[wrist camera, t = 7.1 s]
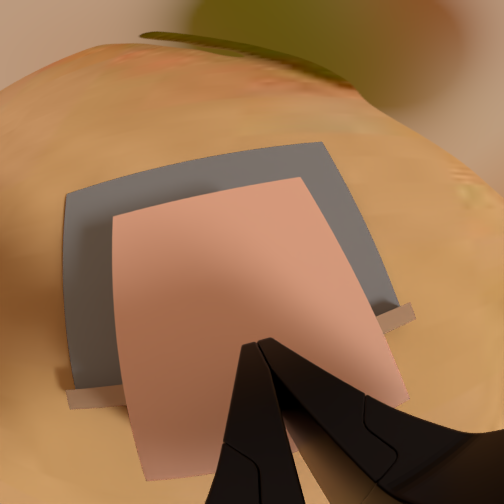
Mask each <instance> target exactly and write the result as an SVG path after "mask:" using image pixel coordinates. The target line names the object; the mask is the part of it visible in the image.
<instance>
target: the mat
mask: <svg viewBox="0 0 504 504" xmlns="http://www.w3.org/2000/svg"><path fill="white" fill-rule="evenodd" d="M296 177H301V179H302V180H303V182H304V183H305V185H306V187H307V188H308V190H309V192H310V193H311V195H312V197H313V199H314V200H315V202H316V204H317V205H318V207H319V209H320V211H321V212H322V214H323V216H324V218H325V219H326V221H327V223H328V225H329V226H330V228H331V230H332V232H333V234H334V235H335V237H336V239H337V241H338V243H339V245H340V247H341V248H342V250H343V252H344V254H345V256H346V258H347V260H348V262H349V264H350V265H351V267H352V269H353V271H354V273H355V275H356V277H357V279H358V281H359V283H360V285H361V287H362V289H363V291H364V293H365V295H366V297H367V300H368V302H369V304H370V306H371V308H372V310H373V312H374V314H375V316H376V319H377V321H378V323H379V325H380V327H381V330H382V332H383V334H385V333H387V332H390V331H392V330H394V329H396V328H398V327H400V326H402V325H405V324H407V323H409V322H411V321H413V320H415V319H416V317H415V314H414V311H413V308H412V306H411V303H410V302H409V303H407V304H404V305H402V306H400V305H399V302H398V300H397V297H396V294H395V292H394V289H393V287H392V284H391V281H390V279H389V276H388V274H387V271H386V269H385V267H384V264H383V262H382V259H381V257H380V255H379V252H378V250H377V248H376V246H375V243H374V241H373V239H372V237H371V235H370V232H369V230H368V228H367V226H366V224H365V222H364V220H363V217H362V215H361V213H360V211H359V209H358V207H357V205H356V203H355V201H354V199H353V197H352V195H351V193H350V191H349V189H348V188H347V186H346V184H345V182H344V180H343V178H342V176H341V174H340V173H339V171H338V169H337V167H336V165H335V164H334V162H333V160H332V158H331V156H330V155H329V153H328V151H327V150H326V148H325V146H324V144H323V143H322V142H314V143H303V144H294V145H285V146H277V147H269V148H261V149H254V150H248V151H241V152H235V153H229V154H223V155H217V156H212V157H207V158H201V159H196V160H191V161H187V162H182V163H177V164H173V165H168V166H164V167H160V168H155V169H151V170H147V171H143V172H139V173H136V174H132V175H128V176H124V177H121V178H117V179H114V180H110V181H107V182H103V183H100V184H97V185H93V186H90V187H87V188H84V189H81V190H78V191H75V192H72V193H69V194H67V197H66V207H65V219H64V236H63V293H64V310H65V322H66V332H67V341H68V348H69V355H70V362H71V368H72V373H73V379H74V384H75V389H74V390H66V395H67V400H68V404H69V408H70V409H89V408H102V407H114V406H123V405H127V404H126V399H125V394H124V388H123V382H122V376H121V369H120V362H119V355H118V347H117V338H116V327H115V316H114V301H113V278H112V229H113V216H117V215H120V214H124V213H128V212H132V211H136V210H140V209H143V208H147V207H151V206H156V205H160V204H164V203H168V202H172V201H177V200H181V199H185V198H190V197H194V196H199V195H204V194H208V193H213V192H218V191H223V190H228V189H233V188H238V187H244V186H249V185H255V184H260V183H266V182H272V181H278V180H284V179H290V178H296Z"/></svg>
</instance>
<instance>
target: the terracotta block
mask: <svg viewBox="0 0 504 504" xmlns="http://www.w3.org/2000/svg"><path fill="white" fill-rule="evenodd" d="M112 278H113V301H114V316H115V327H116V338H117V347H118V355H119V362H120V369H121V376H122V382H123V388H124V394H125V399H126V404H127V409H128V414H129V419H130V423H131V428H132V432H133V436H134V440H135V444H136V448H137V452H138V455H139V459H140V462H141V466H142V469H143V472H144V475H145V479H146V481H154V480H167V479H176V478H185V477H192V476H199V475H205V474H211V473H216V469H217V465H218V460H219V456H220V451H221V446H222V444H223V437H224V432H225V427H226V422H227V417H228V412H229V407H230V402H231V397H232V391H233V386H234V381H235V376H236V371H237V366H238V360H239V355H240V350H241V346H242V345H243V344H246V343H250V342H256V343H257V341H258V340H261V339H265V338H268V337H272V338H274V339H275V340H277V341H278V342H280V343H281V344H283V345H285V346H286V347H288V348H289V349H291V350H293V351H294V352H296V353H297V354H299V355H301V356H302V357H304V358H306V359H307V360H309V361H310V362H312V363H314V364H315V365H317V366H319V367H320V368H322V369H324V370H325V371H327V372H329V373H331V374H332V375H334V376H336V377H337V378H339V379H341V380H343V381H344V382H346V383H348V384H350V385H351V386H353V387H355V388H357V389H358V390H360V391H362V392H364V393H365V396H366V395H369V396H371V397H373V398H375V399H377V400H379V401H381V402H383V403H385V404H387V405H389V406H391V407H393V408H395V407H397V406H399V405H400V404H402V403H404V402H405V401H407V400H409V399H410V398H409V395H408V392H407V390H406V387H405V385H404V382H403V379H402V377H401V374H400V372H399V369H398V367H397V365H396V362H395V360H394V357H393V355H392V353H391V350H390V348H389V346H388V343H387V341H386V339H385V336H384V334H383V332H382V330H381V327H380V325H379V323H378V321H377V319H376V316H375V314H374V312H373V310H372V308H371V306H370V304H369V302H368V300H367V297H366V295H365V293H364V291H363V289H362V287H361V285H360V283H359V281H358V279H357V277H356V275H355V273H354V271H353V269H352V267H351V265H350V264H349V262H348V260H347V258H346V256H345V254H344V252H343V250H342V248H341V247H340V245H339V243H338V241H337V239H336V237H335V235H334V234H333V232H332V230H331V228H330V226H329V225H328V223H327V221H326V219H325V218H324V216H323V214H322V212H321V211H320V209H319V207H318V205H317V204H316V202H315V200H314V199H313V197H312V195H311V193H310V192H309V190H308V188H307V187H306V185H305V183H304V182H303V180H302V179H301V177H296V178H290V179H284V180H278V181H272V182H266V183H260V184H255V185H249V186H244V187H238V188H233V189H228V190H223V191H218V192H213V193H208V194H204V195H199V196H194V197H190V198H185V199H181V200H177V201H172V202H168V203H164V204H160V205H156V206H151V207H147V208H143V209H140V210H136V211H132V212H128V213H124V214H120V215H117V216H113V229H112ZM285 428H286V427H285ZM286 432H287V435H288V439H289V443H290V447H291V451H292V453H294V452H296V451H299V450H298V448H297V447H296V445H295V443H294V441H293V439H292V438H291V436H290V434H289V432H288V430H287V429H286Z"/></svg>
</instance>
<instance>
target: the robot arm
mask: <svg viewBox="0 0 504 504" xmlns="http://www.w3.org/2000/svg"><path fill="white" fill-rule="evenodd" d="M285 427H286V428H285ZM286 429H287V430H288V432H289V434H290V436H291V438H292V439H293V441H294V443H295V445H296V447H297V448H298V450H299V452H300V454H301V455H302V457H303V459H304V461H305V462H306V464H307V466H308V467H309V469H310V471H311V473H312V474H313V476H314V478H315V479H316V481H317V483H318V484H319V486H320V488H321V489H322V491H323V493H324V494H325V496H326V497H327V499H328V501H329V502H330V504H504V429H502V430H497V431H492V432H486V433H467V432H461V431H457V430H454V429H450V428H447V427H444V426H441V425H438V424H435V423H432V422H429V421H426V420H423V419H420V418H417V417H415V416H412V415H409V414H407V413H404V412H402V411H400V410H397V409H395V408H393V407H391V406H389V405H387V404H385V403H383V402H381V401H379V400H377V399H375V398H373V397H371V396H369V395H366V396H365V393H364V392H362V391H360V390H358V389H357V388H355V387H353V386H351V385H350V384H348V383H346V382H344V381H343V380H341V379H339V378H337V377H336V376H334V375H332V374H331V373H329V372H327V371H325V370H324V369H322V368H320V367H319V366H317V365H315V364H314V363H312V362H310V361H309V360H307V359H306V358H304V357H302V356H301V355H299V354H297V353H296V352H294V351H293V350H291V349H289V348H288V347H286V346H285V345H283V344H281V343H280V342H278V341H277V340H275V339H274V338H272V337H268V338H265V339H261V340H258V341H257V343H256V342H250V343H246V344H243V345H242V346H241V350H240V355H239V360H238V366H237V371H236V376H235V381H234V386H233V391H232V397H231V402H230V407H229V412H228V417H227V422H226V427H225V432H224V437H223V444H222V446H221V451H220V456H219V460H218V465H217V469H216V473H215V476H214V479H213V482H212V485H211V488H210V491H209V494H208V497H207V499H206V502H205V504H305V500H304V496H303V493H302V489H301V485H300V481H299V477H298V474H297V470H296V466H295V462H294V459H293V455H292V451H291V447H290V443H289V439H288V435H287V432H286Z"/></svg>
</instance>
